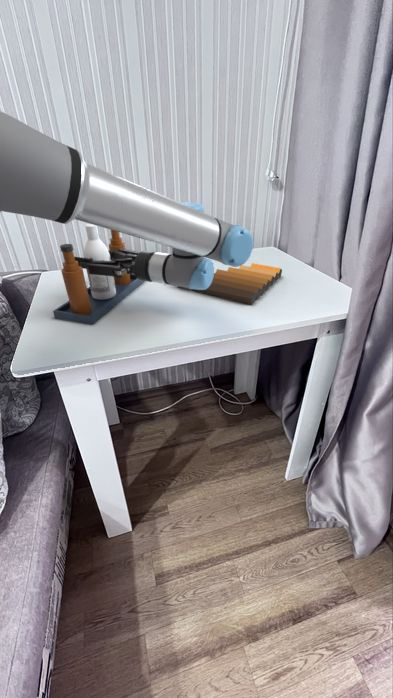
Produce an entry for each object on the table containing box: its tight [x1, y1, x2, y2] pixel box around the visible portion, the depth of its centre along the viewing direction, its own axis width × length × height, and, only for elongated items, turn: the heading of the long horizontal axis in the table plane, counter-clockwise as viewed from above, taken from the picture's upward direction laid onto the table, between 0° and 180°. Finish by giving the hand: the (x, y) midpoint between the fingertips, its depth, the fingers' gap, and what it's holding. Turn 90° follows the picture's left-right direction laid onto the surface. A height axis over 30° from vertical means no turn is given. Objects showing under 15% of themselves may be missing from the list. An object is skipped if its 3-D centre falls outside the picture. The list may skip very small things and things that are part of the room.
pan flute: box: [177, 262, 283, 306], centre depth 103 cm, size 25×3×25 cm
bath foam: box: [83, 223, 116, 300], centre depth 89 cm, size 7×7×20 cm
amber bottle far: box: [108, 230, 131, 285], centre depth 98 cm, size 5×5×18 cm
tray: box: [52, 274, 145, 326], centre depth 95 cm, size 30×12×2 cm, turn 162°
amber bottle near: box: [59, 243, 92, 315], centre depth 81 cm, size 5×5×18 cm
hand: (83, 257), depth 90 cm, fingers open, 7 cm apart
